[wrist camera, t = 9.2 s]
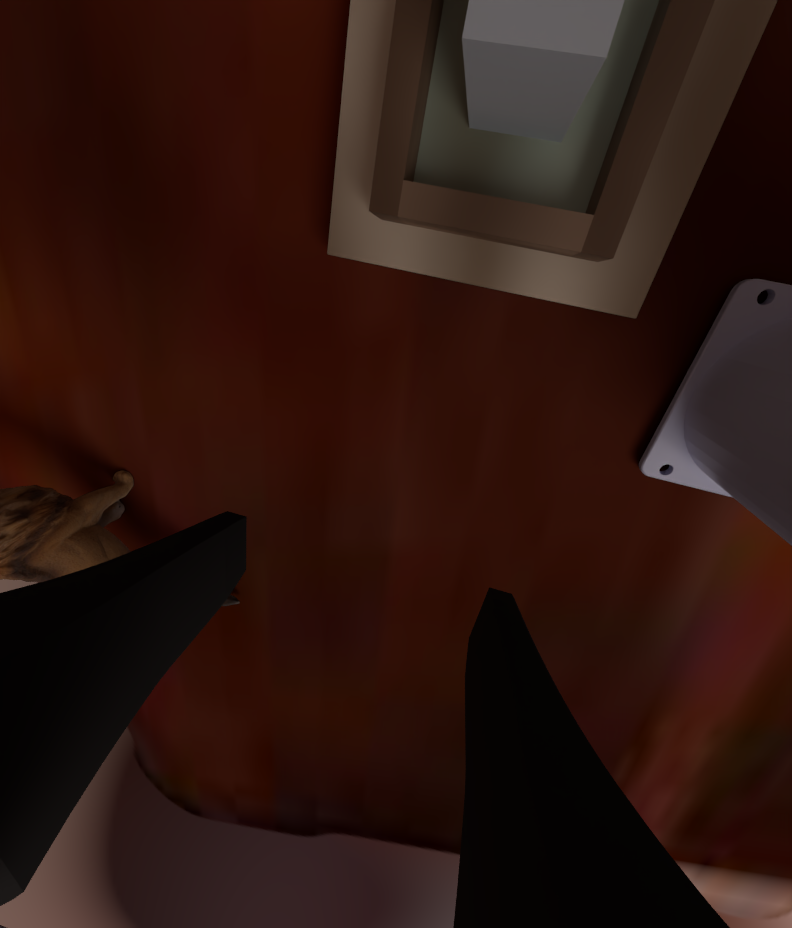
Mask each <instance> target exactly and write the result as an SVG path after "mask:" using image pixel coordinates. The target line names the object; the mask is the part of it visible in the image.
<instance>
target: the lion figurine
mask: <svg viewBox="0 0 792 928" xmlns="http://www.w3.org/2000/svg"><path fill="white" fill-rule="evenodd" d="M113 480H114V481H115V484H114V485H112V486H108V487H105V488H101V489H98V490H95V491H92V492H90V493H87V494H85V495H83V496H81V497H79V498H77V499H74V500H73V499H72V498H71V497H69V496H66V495H62V494H60V493H57V492H56V490H54V489H52V488H43V487H40V486H37V485H33V486H21V487H15V488H6V489H0V579H10V580H23V581H26V582H31V581H32V582H34V581H35V582H44V581H48V580H51V579H54V578H57V577H61V576H64V575H67V574H70V573H73V572H76V571H80V570H83V569H86V568H89V567H91V566H94V565H97V564H100V563H103V562H106V561H108V560H111V559H114V558H116V557H119V556H121V555H124V554H126V553H129V552H130V551H129V549H128V548H127V547H126V546H125V545H124V544H123V543H122V542H121V541H120V540H119V539H118V538H117V537H116V536H115V535H113V534H112V533H111V532H109V531H108V530H106V529H105V528H103V527H104V526H106V525H107V524H109V523H111V522H113V521H115V520H117V519H119V518H120V517H121V515H122V514H123V512H124V510H125V508H124V505H123V504H122V503H121V502H120V501H119V499H121V498H123V497H125V496H126V495H127V494H128V492H129V491H130V490H131V488H132V487H133V485H134V483H133V477H132V475H131V474H130V473H129V472H127V471H124V470H122V471H118V472H116V473H115V474H114V477H113ZM233 604H239V600H238V599H237V598H235V597H234V596H232V595H229V597H228V598H227V600H226V601H225V602H224V603H223V605H222V606H228V605H233Z"/></svg>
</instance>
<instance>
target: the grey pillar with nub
mask: <svg viewBox="0 0 792 928" xmlns="http://www.w3.org/2000/svg"><path fill="white" fill-rule="evenodd" d="M623 4H624V0H469V3H468V8H467V14H466V19H465V25H464V30H463V35H462V45H463V57H464V70H465V82H466V95H467V107H468V119H469V128H473V129H479V130H485V131H492V132H498V133H504V134H510V135H517V136H523V137H529V138H536V139H542V140H548V141H554V142H562V140H563V138H564V136H565V134H566V132H567V130H568V129H569V127H570V125H571V123H572V121H573V119H574V117H575V116H576V114H577V112H578V110H579V108H580V106H581V104H582V102H583V101H584V99H585V97H586V95H587V93H588V91H589V89H590V88H591V86H592V84H593V82H594V80H595V78H596V76H597V74H598V73H599V71H600V69H601V67H602V65H603V63H604V61H605V60H606V58H607V54H608V51H609V48H610V45H611V42H612V39H613V35H614V32H615V29H616V26H617V23H618V20H619V16H620V13H621V10H622V7H623Z"/></svg>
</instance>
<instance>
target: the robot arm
mask: <svg viewBox="0 0 792 928" xmlns="http://www.w3.org/2000/svg"><path fill="white" fill-rule="evenodd" d="M764 290H766V291H767V293H768V296H767V299H766V300H765V301H764V302H763V303H761V304H758V302H757V297H758V295H759V294H760V293H761V292H762V291H764ZM666 464H669V468H668V469H667V470H665V471H659V470H660V468H661V467H662V466H663V465H666ZM639 469H640V470H641V471H642V472H643V473H644V474H645V475H647V476H649V477H653V478H657V479H661V480H665V481H669V482H673V483H677V484H681V485H685V486H689V487H693V488H697V489H701V490H705V491H709V492H713V493H717V494H721V495H725V496H729V497H733V498H735V499H736V500H737V501H738V502H739V503H741V504H742V505H743V506H744V507H746V508H747V509H748V510H749V511H750V512H752V513H753V514H754V515H755V516H756V517H758V518H759V519H760V520H761V521H762V522H764V523H765V524H766V525H767V526H769V527H770V528H771V529H772V530H773V531H775V532H776V533H777V534H778V535H779V536H781V537H782V538H783V539H784V540H785V541H787V542H788V543H789V544H790V545H791V546H792V285H788V284H783V283H778V282H773V281H767V280H762V279H746V280H743V281H741V282H739V283H738V284H736V285H735V286H734V287H733V289H732V290H731V291H730V293H729V295H728V297H727V299H726V301H725V302H724V304H723V306H722V308H721V310H720V312H719V314H718V316H717V317H716V319H715V321H714V323H713V325H712V327H711V329H710V330H709V332H708V334H707V336H706V338H705V340H704V342H703V344H702V345H701V347H700V349H699V351H698V353H697V355H696V357H695V359H694V360H693V362H692V364H691V366H690V368H689V370H688V372H687V373H686V375H685V377H684V379H683V381H682V383H681V385H680V387H679V388H678V390H677V392H676V394H675V396H674V398H673V400H672V401H671V403H670V405H669V407H668V409H667V411H666V413H665V415H664V416H663V418H662V420H661V422H660V424H659V426H658V428H657V430H656V431H655V433H654V435H653V437H652V439H651V441H650V443H649V444H648V446H647V448H646V450H645V452H644V454H643V456H642V458H641V459H640V462H639ZM245 570H246V517H245V516H242V515H238V514H235V513H232V512H228V511H227V512H224V513H222V514H219V515H217V516H214V517H212V518H210V519H207V520H205V521H203V522H200V523H198V524H196V525H194V526H191V527H189V528H187V529H185V530H182V531H180V532H178V533H175V534H173V535H171V536H168V537H166V538H164V539H161V540H159V541H157V542H154V543H152V544H149V545H147V546H144V547H142V548H139V549H137V550H134V551H132V552H129V553H126V554H124V555H121V556H119V557H116V558H114V559H111V560H108V561H106V562H103V563H100V564H97V565H94V566H91V567H89V568H86V569H83V570H80V571H76V572H73V573H70V574H67V575H64V576H61V577H57V578H54V579H51V580H48V581H44V582H40V583H37V584H33V585H29V586H26V587H22V588H18V589H14V590H10V591H7V592H3V593H0V906H1V905H3V904H5V903H7V902H9V901H11V900H12V899H14V898H15V897H16V896H18V895H19V894H21V893H23V892H24V890H25V889H26V887H27V885H28V883H29V882H30V880H31V878H32V876H33V875H34V873H35V871H36V870H37V868H38V866H39V865H40V863H41V861H42V860H43V858H44V856H45V854H46V853H47V851H48V850H49V848H50V846H51V845H52V843H53V841H54V840H55V838H56V837H57V835H58V833H59V832H60V830H61V828H62V826H63V825H64V823H65V822H66V820H67V818H68V817H69V815H70V813H71V812H72V810H73V808H74V807H75V805H76V804H77V802H78V801H79V799H80V798H81V796H82V795H83V793H84V791H85V790H86V788H87V787H88V785H89V783H90V782H91V780H92V779H93V777H94V776H95V774H96V772H97V771H98V769H99V768H100V766H101V765H102V763H103V762H104V760H105V759H106V757H107V756H108V754H109V753H110V751H111V750H112V748H113V747H114V745H115V744H116V742H117V741H118V739H119V738H120V736H121V735H122V733H123V732H124V730H125V729H126V727H127V726H128V724H129V723H130V721H131V720H132V719H133V717H134V716H135V714H136V713H137V711H138V710H139V709H140V707H141V706H142V704H143V703H144V701H145V700H146V699H147V697H148V696H149V694H150V693H151V692H152V690H153V689H154V687H155V686H156V684H157V683H158V682H159V681H160V679H161V678H162V677H163V675H164V674H165V673H166V672H167V670H168V669H169V668H170V667H171V665H172V664H173V663H174V662H175V661H176V659H177V658H178V657H179V656H180V655H181V654H182V652H183V651H184V650H185V649H186V648H187V646H188V645H189V644H190V643H191V642H192V641H193V639H194V638H195V637H196V636H197V635H198V633H199V632H200V631H201V630H202V629H203V627H204V626H205V625H206V624H207V623H208V622H209V620H210V619H211V618H212V617H213V616H214V614H215V613H216V612H217V611H218V609H219V608H220V607H221V606H222V605H223V603H224V602H225V601H226V600H227V598H228V597H229V595H230V594H231V592H232V591H233V589H234V588H235V586H236V585H237V583H238V581H239V580H240V578H241V577H242V575H243V573H244V572H245ZM465 736H466V779H465V800H464V814H463V827H462V840H461V852H460V864H459V875H458V887H457V898H456V908H455V919H454V928H729V926H727V924H726V923H725V922H724V921H723V919H722V918H721V917H720V916H719V915H718V914H717V913H716V911H715V910H714V909H713V908H712V907H711V905H710V904H709V903H708V902H707V901H706V899H705V898H704V897H703V896H702V895H701V893H700V892H699V891H698V890H697V888H696V887H695V886H694V885H693V883H692V882H691V881H690V880H689V878H688V877H687V876H686V875H685V873H684V872H683V871H682V870H681V868H680V867H679V866H678V865H677V863H676V862H675V861H674V860H673V858H672V857H671V856H670V855H669V853H668V852H667V851H666V850H665V848H664V847H663V846H662V844H661V843H660V842H659V840H658V839H657V838H656V837H655V835H654V834H653V833H652V831H651V830H650V829H649V827H648V826H647V825H646V823H645V822H644V820H643V819H642V818H641V816H640V815H639V814H638V812H637V811H636V810H635V808H634V807H633V805H632V804H631V803H630V801H629V800H628V799H627V797H626V796H625V795H624V793H623V792H622V790H621V789H620V788H619V786H618V785H617V784H616V782H615V781H614V779H613V778H612V776H611V775H610V773H609V772H608V771H607V769H606V768H605V766H604V765H603V763H602V762H601V760H600V759H599V757H598V756H597V754H596V752H595V751H594V749H593V748H592V746H591V745H590V743H589V742H588V740H587V738H586V737H585V735H584V734H583V732H582V730H581V729H580V727H579V725H578V724H577V722H576V720H575V719H574V717H573V715H572V714H571V712H570V710H569V708H568V707H567V705H566V703H565V701H564V700H563V698H562V696H561V694H560V693H559V691H558V689H557V687H556V685H555V683H554V681H553V680H552V678H551V676H550V674H549V672H548V670H547V668H546V666H545V664H544V662H543V660H542V658H541V656H540V654H539V652H538V650H537V648H536V646H535V644H534V642H533V640H532V637H531V635H530V633H529V631H528V629H527V627H526V624H525V622H524V620H523V618H522V615H521V613H520V611H519V608H518V606H517V604H516V601H515V599H514V597H513V595H512V594H510V593H507V592H503V591H500V590H496V589H493V588H489V590H488V592H487V595H486V597H485V600H484V602H483V605H482V607H481V610H480V612H479V615H478V617H477V620H476V622H475V625H474V627H473V630H472V632H471V635H470V637H469V643H468V652H467V662H466V672H465ZM0 928H6V927H4V926H1V925H0Z"/></svg>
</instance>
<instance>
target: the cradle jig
mask: <svg viewBox="0 0 792 928" xmlns="http://www.w3.org/2000/svg"><path fill="white" fill-rule="evenodd" d="M777 1H778V0H624V4H623V7H622V10H621V13H620V16H619V20H618V23H617V26H616V29H615V32H614V35H613V39H612V42H611V45H610V48H609V51H608V54H607V58H606V60H605V61H604V63H603V65H602V67H601V69H600V71H599V73H598V74H597V76H596V78H595V80H594V82H593V84H592V86H591V88H590V89H589V91H588V93H587V95H586V97H585V99H584V101H583V102H582V104H581V106H580V108H579V110H578V112H577V114H576V116H575V117H574V119H573V121H572V123H571V125H570V127H569V129H568V130H567V132H566V134H565V136H564V138H563V140H562V142H554V141H548V140H542V139H536V138H529V137H523V136H517V135H510V134H504V133H498V132H492V131H485V130H479V129H473V128H469V119H468V107H467V95H466V82H465V70H464V57H463V45H462V35H463V30H464V25H465V19H466V14H467V8H468V3H469V0H350V11H349V22H348V33H347V44H346V55H345V66H344V77H343V88H342V99H341V110H340V121H339V131H338V142H337V153H336V164H335V175H334V186H333V197H332V208H331V219H330V230H329V241H328V252H327V254H329V255H333V256H338V257H342V258H347V259H352V260H357V261H361V262H366V263H371V264H376V265H381V266H385V267H390V268H395V269H400V270H404V271H409V272H414V273H419V274H424V275H428V276H433V277H438V278H443V279H448V280H452V281H457V282H462V283H467V284H471V285H476V286H481V287H486V288H491V289H495V290H500V291H505V292H510V293H515V294H519V295H524V296H529V297H534V298H538V299H543V300H548V301H553V302H558V303H562V304H567V305H572V306H577V307H582V308H586V309H591V310H596V311H601V312H605V313H610V314H615V315H620V316H625V317H630V318H635V319H636V317H637V315H638V313H639V311H640V308H641V306H642V304H643V302H644V299H645V297H646V295H647V293H648V290H649V288H650V286H651V284H652V281H653V279H654V277H655V275H656V272H657V270H658V268H659V266H660V263H661V261H662V259H663V257H664V254H665V252H666V250H667V248H668V245H669V243H670V241H671V239H672V236H673V234H674V232H675V230H676V227H677V225H678V223H679V221H680V218H681V216H682V214H683V212H684V209H685V207H686V205H687V203H688V200H689V198H690V196H691V194H692V191H693V189H694V187H695V185H696V182H697V180H698V178H699V176H700V173H701V171H702V169H703V167H704V165H705V162H706V160H707V158H708V156H709V153H710V151H711V149H712V147H713V144H714V142H715V140H716V138H717V135H718V133H719V131H720V129H721V126H722V124H723V122H724V120H725V117H726V115H727V113H728V111H729V108H730V106H731V104H732V102H733V99H734V97H735V95H736V93H737V90H738V88H739V86H740V84H741V81H742V79H743V77H744V75H745V72H746V70H747V68H748V66H749V63H750V61H751V59H752V57H753V54H754V52H755V50H756V48H757V45H758V43H759V41H760V39H761V36H762V34H763V32H764V30H765V27H766V25H767V23H768V21H769V19H770V16H771V14H772V12H773V10H774V7H775V5H776V3H777Z"/></svg>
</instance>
